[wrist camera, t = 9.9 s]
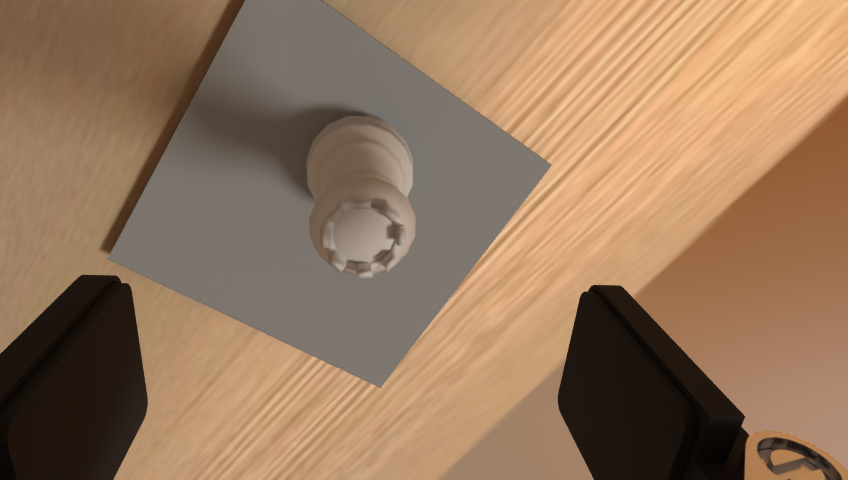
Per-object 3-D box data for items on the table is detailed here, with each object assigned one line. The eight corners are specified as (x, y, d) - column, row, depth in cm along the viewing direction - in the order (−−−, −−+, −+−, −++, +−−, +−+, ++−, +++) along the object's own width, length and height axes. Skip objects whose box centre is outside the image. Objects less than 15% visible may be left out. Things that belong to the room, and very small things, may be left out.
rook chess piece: (284, 152, 22) (251, 222, 15) (374, 91, 22) (384, 133, 14) (348, 233, 24) (345, 331, 17) (431, 178, 23) (467, 256, 16)
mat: (268, -38, 20) (266, -40, 19) (547, 161, 24) (551, 165, 24) (113, 253, 24) (107, 259, 23) (379, 380, 28) (380, 387, 28)
